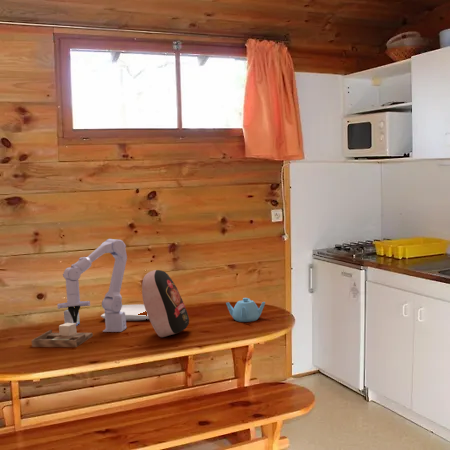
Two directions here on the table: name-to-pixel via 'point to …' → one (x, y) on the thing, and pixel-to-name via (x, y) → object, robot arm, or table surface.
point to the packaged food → (163, 304)
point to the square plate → (133, 312)
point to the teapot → (245, 310)
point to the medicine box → (70, 317)
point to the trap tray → (60, 340)
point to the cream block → (67, 329)
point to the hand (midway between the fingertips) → (75, 322)
